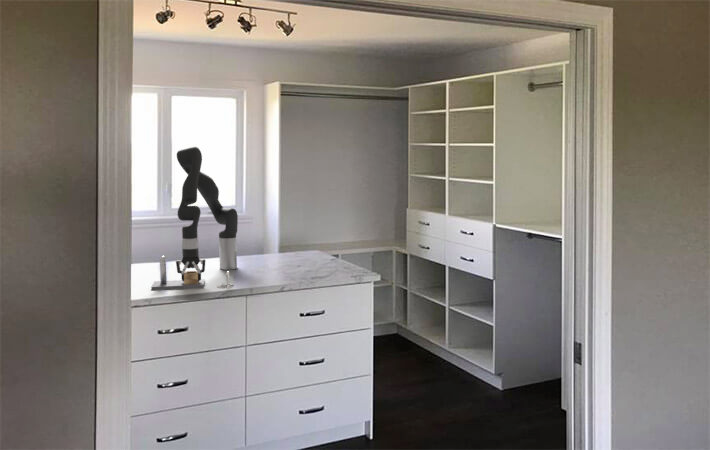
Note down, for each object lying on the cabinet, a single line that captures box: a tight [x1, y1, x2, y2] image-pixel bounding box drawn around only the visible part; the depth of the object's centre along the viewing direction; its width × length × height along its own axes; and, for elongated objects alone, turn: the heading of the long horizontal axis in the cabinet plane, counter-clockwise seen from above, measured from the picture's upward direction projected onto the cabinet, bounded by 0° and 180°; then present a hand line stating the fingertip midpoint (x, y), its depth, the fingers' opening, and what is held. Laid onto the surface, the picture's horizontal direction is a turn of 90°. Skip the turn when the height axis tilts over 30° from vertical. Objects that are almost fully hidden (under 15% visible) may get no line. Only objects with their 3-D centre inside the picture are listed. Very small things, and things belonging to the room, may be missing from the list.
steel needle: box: [159, 255, 168, 284], centre depth 304 cm, size 3×3×13 cm
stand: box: [216, 270, 235, 289], centre depth 305 cm, size 8×5×8 cm
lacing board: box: [150, 278, 206, 291], centre depth 306 cm, size 24×12×2 cm, turn 100°
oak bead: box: [184, 270, 199, 284], centre depth 307 cm, size 6×6×5 cm
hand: (191, 281), depth 307 cm, fingers closed on oak bead, 6 cm apart
